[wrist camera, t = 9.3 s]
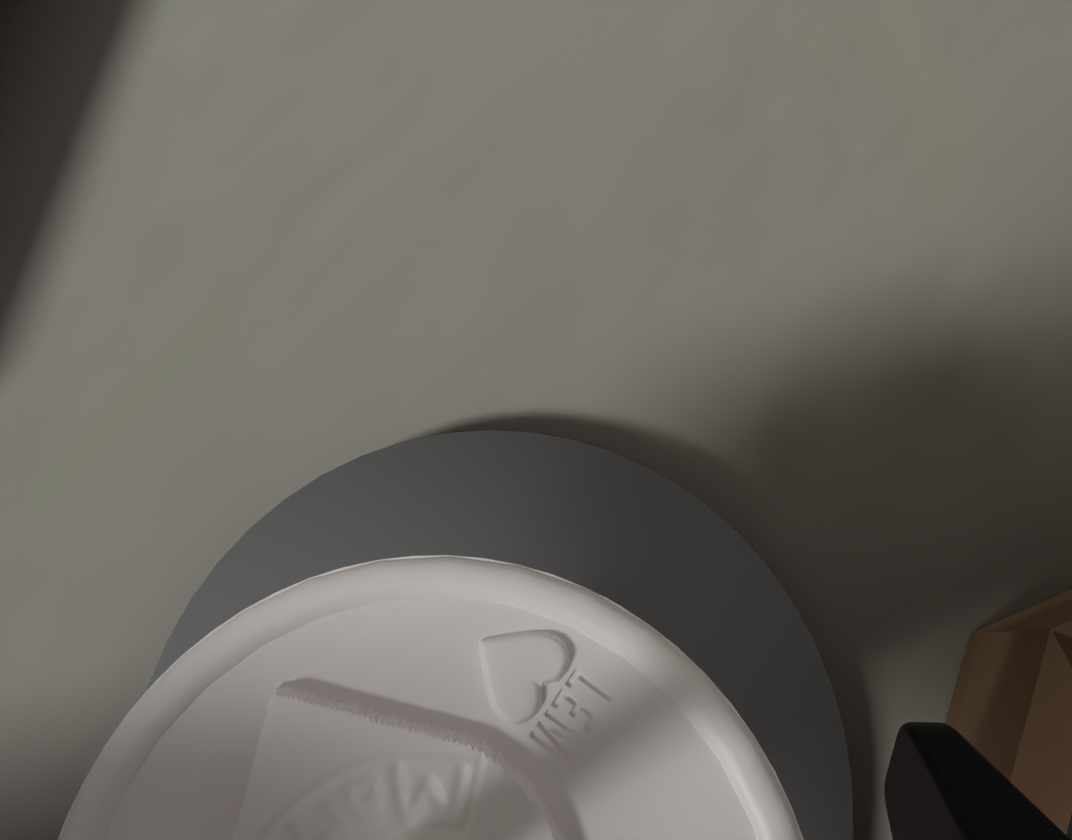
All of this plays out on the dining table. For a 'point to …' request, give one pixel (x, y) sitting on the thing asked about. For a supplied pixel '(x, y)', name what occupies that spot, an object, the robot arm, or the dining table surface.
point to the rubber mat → (567, 573)
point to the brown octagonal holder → (1023, 702)
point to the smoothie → (432, 722)
